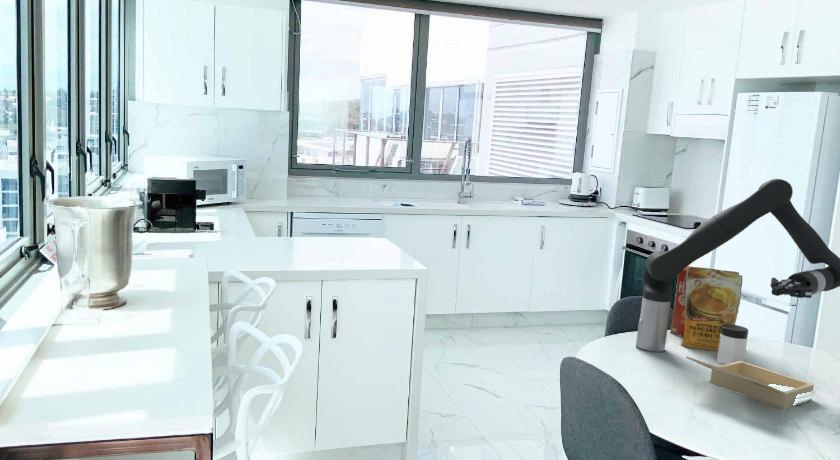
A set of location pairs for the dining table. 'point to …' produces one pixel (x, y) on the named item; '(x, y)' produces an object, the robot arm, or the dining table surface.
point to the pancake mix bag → (709, 305)
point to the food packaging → (679, 305)
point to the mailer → (758, 391)
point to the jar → (732, 344)
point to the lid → (735, 375)
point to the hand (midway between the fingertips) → (774, 291)
